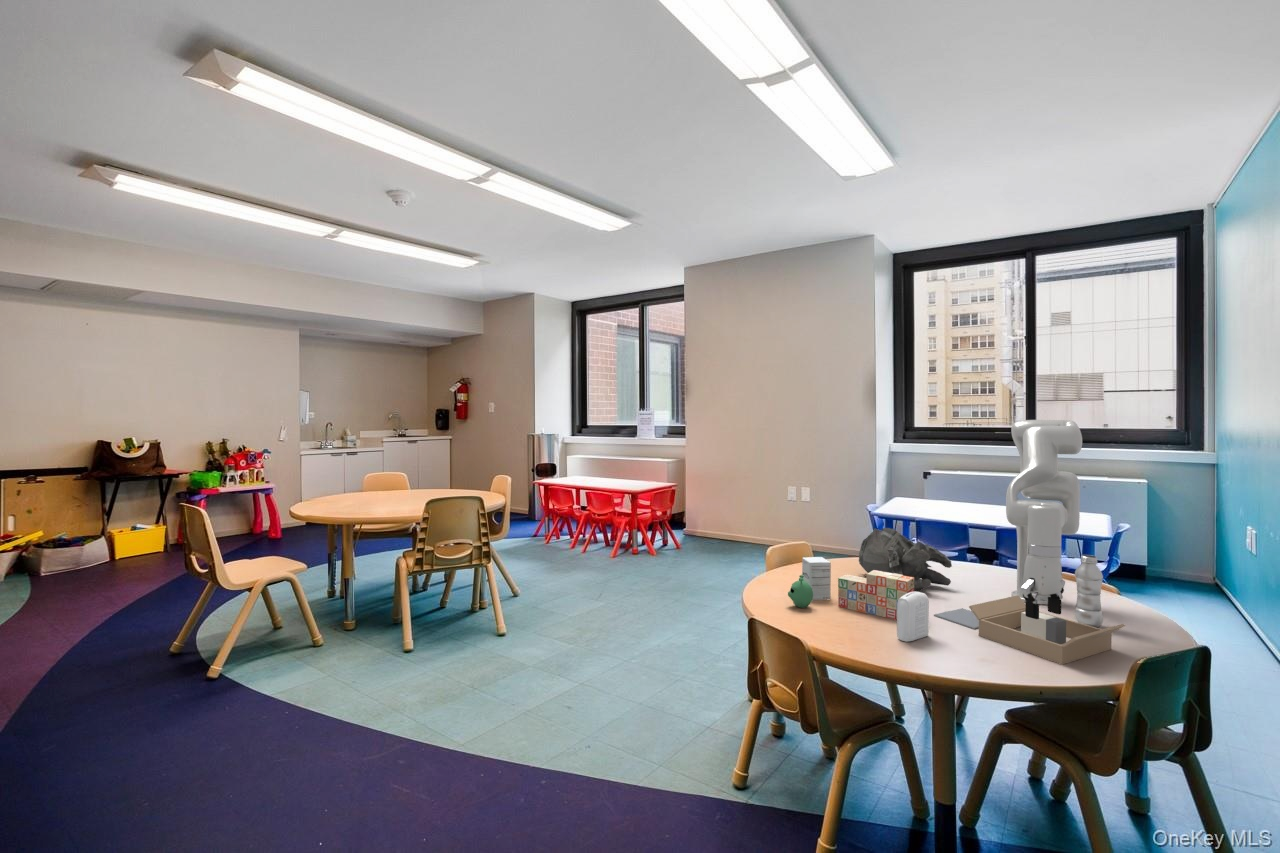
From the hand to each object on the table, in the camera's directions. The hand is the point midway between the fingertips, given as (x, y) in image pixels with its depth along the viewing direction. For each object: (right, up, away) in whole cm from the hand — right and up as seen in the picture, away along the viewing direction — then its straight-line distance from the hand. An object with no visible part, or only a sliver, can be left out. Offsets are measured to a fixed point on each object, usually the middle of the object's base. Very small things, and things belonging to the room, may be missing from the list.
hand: (1043, 615), depth 162 cm
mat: (-10, -7, +19) cm, 23 cm away
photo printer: (-33, -8, +4) cm, 34 cm away
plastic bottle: (+22, -7, +13) cm, 27 cm away
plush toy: (-12, -6, +58) cm, 60 cm away
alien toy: (-57, -7, +31) cm, 65 cm away
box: (0, -7, +1) cm, 7 cm away
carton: (0, -7, +1) cm, 7 cm away
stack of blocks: (-35, -7, +26) cm, 44 cm away
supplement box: (-49, -7, +41) cm, 64 cm away
